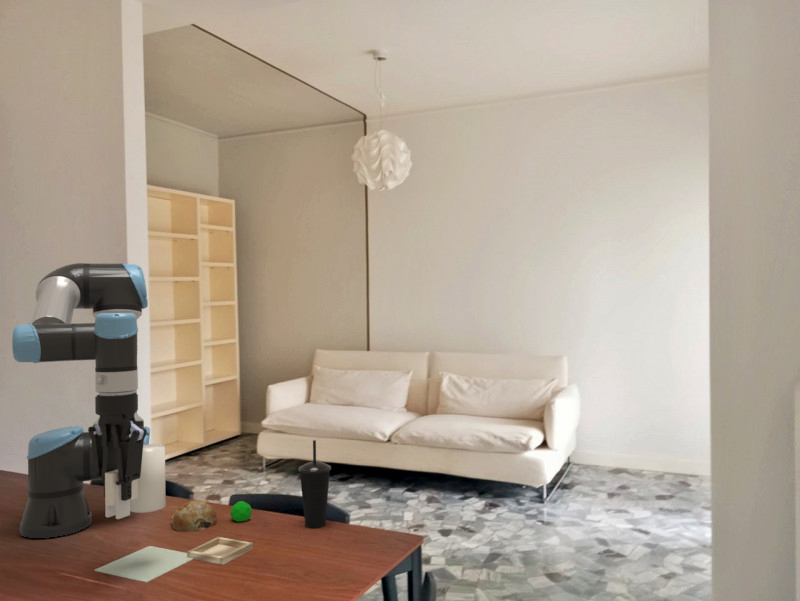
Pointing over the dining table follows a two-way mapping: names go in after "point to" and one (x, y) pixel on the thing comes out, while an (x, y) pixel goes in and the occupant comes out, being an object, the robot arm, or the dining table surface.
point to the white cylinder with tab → (143, 482)
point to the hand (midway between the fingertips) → (117, 515)
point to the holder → (220, 550)
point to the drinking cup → (314, 491)
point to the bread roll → (193, 516)
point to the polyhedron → (241, 511)
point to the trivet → (146, 564)
